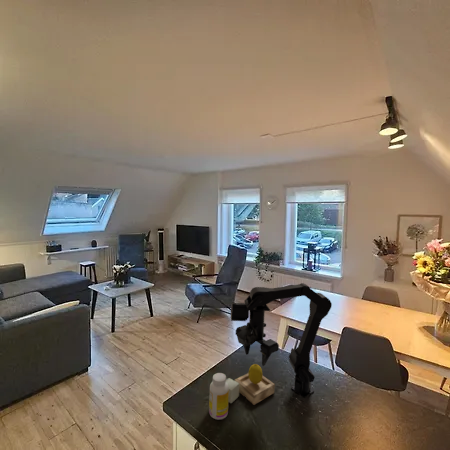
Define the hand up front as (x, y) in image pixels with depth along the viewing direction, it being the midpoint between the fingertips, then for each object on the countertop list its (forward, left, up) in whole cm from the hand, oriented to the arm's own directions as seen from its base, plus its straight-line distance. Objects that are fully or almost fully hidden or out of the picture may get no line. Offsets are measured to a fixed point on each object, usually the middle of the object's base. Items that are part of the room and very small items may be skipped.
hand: (255, 359), depth 99 cm
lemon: (0, 0, -10) cm, 10 cm away
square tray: (0, 0, -12) cm, 12 cm away
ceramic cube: (+10, -3, -13) cm, 16 cm away
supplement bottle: (+18, +1, -13) cm, 22 cm away
